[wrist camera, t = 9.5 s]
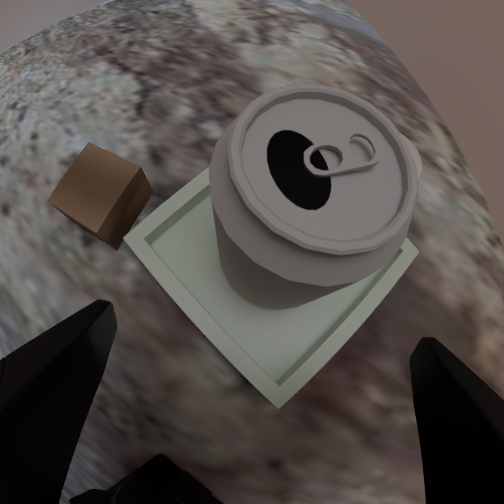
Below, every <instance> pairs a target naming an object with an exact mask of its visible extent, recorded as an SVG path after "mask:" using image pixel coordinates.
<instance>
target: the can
mask: <svg viewBox="0 0 504 504" xmlns="http://www.w3.org/2000/svg"><path fill="white" fill-rule="evenodd" d="M208 172H209V182H210V191H211V201H212V209H213V216H214V223H215V230H216V237H217V244H218V251H219V258H220V265H221V268H222V270H223V272H224V274H225V276H226V278H227V280H228V282H229V284H230V285H231V286H232V287H233V288H234V289H235V290H236V291H237V292H238V293H239V294H240V295H241V296H242V297H243V298H245V299H247V300H249V301H251V302H252V303H254V304H256V305H258V306H260V307H266V308H272V309H278V310H281V309H287V308H293V307H299V306H301V305H304V304H306V303H309V302H311V301H314V300H316V299H319V298H321V297H323V296H326V295H328V294H331V293H333V292H335V291H338V290H340V289H342V288H345V287H347V286H349V285H352V284H354V283H356V282H359V281H361V280H363V279H364V278H366V277H368V276H369V275H371V274H373V273H374V272H376V271H378V270H379V269H381V268H383V267H384V266H386V265H387V264H388V263H389V262H390V260H391V259H392V258H393V256H394V255H395V254H396V252H397V251H398V250H399V249H400V247H401V246H402V245H403V243H404V242H405V239H406V235H407V232H408V229H409V225H410V222H411V218H412V215H413V212H414V208H415V204H416V200H417V196H418V179H417V169H416V165H415V162H414V160H413V157H412V155H411V152H410V150H409V147H408V145H407V143H406V141H405V140H404V138H403V137H402V136H401V134H400V133H399V132H398V130H397V129H396V128H395V126H394V125H393V124H392V122H391V121H390V120H389V119H388V118H387V117H385V116H384V115H383V114H382V113H381V112H380V111H378V110H377V109H376V108H375V107H374V106H372V105H371V104H370V103H368V102H366V101H364V100H362V99H361V98H359V97H357V96H355V95H353V94H351V93H349V92H347V91H344V90H340V89H336V88H332V87H329V86H325V85H318V84H292V85H288V86H284V87H280V88H276V89H273V90H269V91H268V92H266V93H264V94H263V95H261V96H259V97H258V98H256V99H255V100H253V101H252V102H250V103H248V105H247V106H246V107H245V109H244V110H243V111H242V113H241V114H240V115H239V116H238V118H236V119H235V120H233V121H232V123H231V124H230V125H229V127H228V128H227V129H226V131H225V132H224V133H223V135H222V136H221V137H220V139H219V140H218V141H217V143H216V146H215V149H214V153H213V156H212V160H211V164H210V167H209V171H208Z"/></svg>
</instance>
